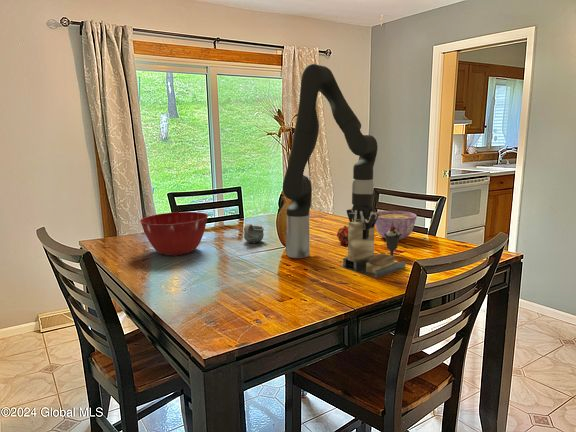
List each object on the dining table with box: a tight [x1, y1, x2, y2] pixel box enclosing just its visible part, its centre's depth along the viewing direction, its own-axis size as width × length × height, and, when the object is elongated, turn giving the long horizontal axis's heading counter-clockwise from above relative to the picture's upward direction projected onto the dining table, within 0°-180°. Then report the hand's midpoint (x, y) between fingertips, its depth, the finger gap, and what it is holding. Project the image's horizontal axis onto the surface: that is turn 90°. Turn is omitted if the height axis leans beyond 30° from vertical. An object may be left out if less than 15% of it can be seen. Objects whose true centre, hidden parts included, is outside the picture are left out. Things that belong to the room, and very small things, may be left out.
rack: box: [339, 254, 406, 279], centre depth 152 cm, size 17×16×4 cm
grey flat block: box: [366, 259, 399, 274], centre depth 148 cm, size 6×10×3 cm, turn 129°
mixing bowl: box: [139, 211, 209, 256], centre depth 182 cm, size 28×28×15 cm
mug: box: [243, 223, 265, 244], centre depth 194 cm, size 10×12×10 cm
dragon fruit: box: [336, 225, 348, 246], centre depth 191 cm, size 8×8×12 cm
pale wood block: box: [347, 220, 376, 262], centre depth 154 cm, size 3×11×14 cm, turn 129°
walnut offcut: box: [370, 253, 395, 267], centre depth 147 cm, size 5×8×2 cm, turn 137°
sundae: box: [384, 223, 401, 257], centre depth 165 cm, size 7×7×15 cm
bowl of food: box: [374, 210, 418, 241], centre depth 198 cm, size 20×20×12 cm
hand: (361, 238), depth 154 cm, fingers closed on pale wood block, 3 cm apart
